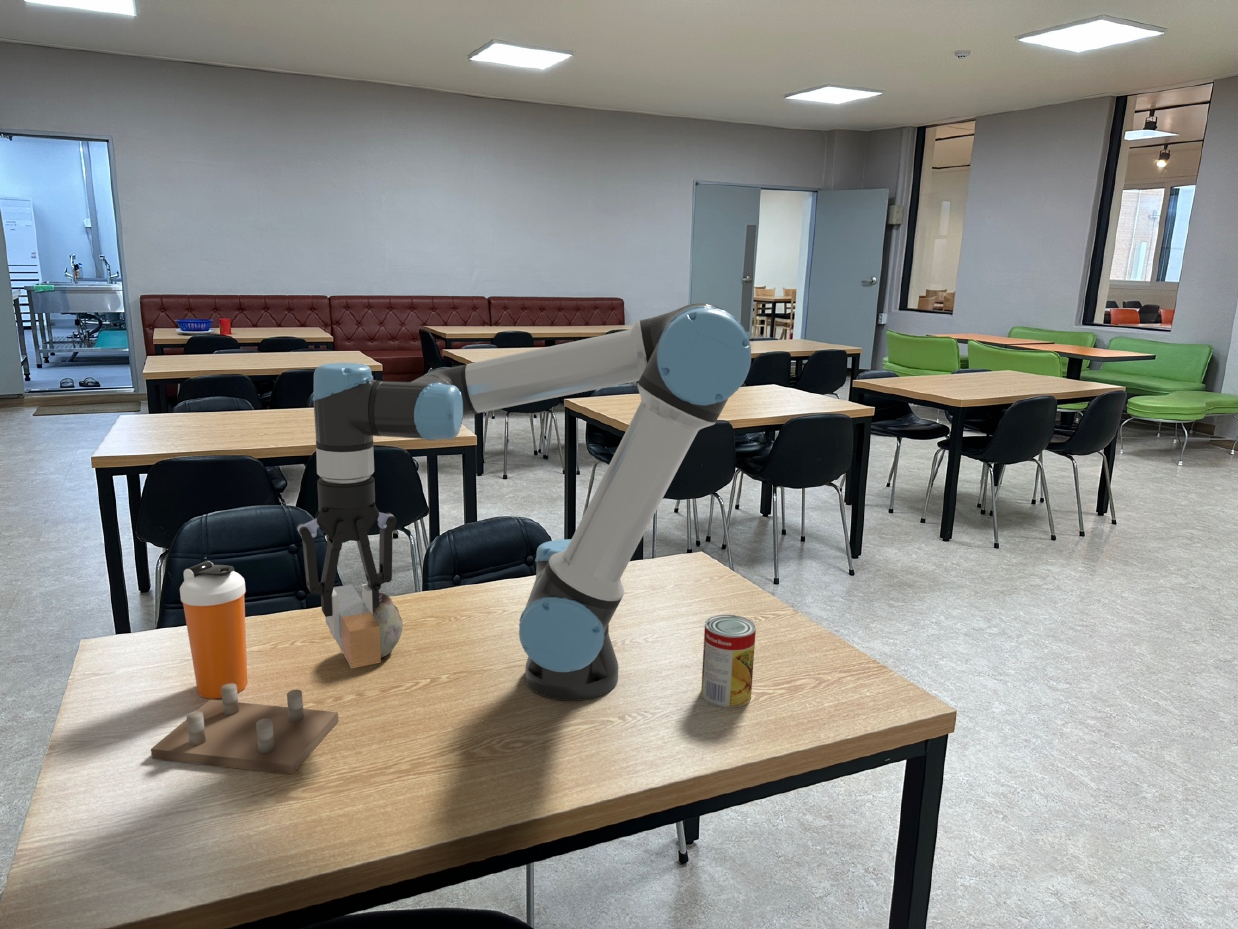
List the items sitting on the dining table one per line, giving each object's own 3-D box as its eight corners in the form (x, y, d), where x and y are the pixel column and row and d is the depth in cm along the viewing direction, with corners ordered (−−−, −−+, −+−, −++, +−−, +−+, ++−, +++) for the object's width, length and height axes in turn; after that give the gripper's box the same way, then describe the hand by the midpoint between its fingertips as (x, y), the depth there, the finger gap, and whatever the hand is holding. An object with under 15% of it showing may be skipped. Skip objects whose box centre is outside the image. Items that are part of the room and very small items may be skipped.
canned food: (757, 690, 133) (762, 621, 130) (740, 713, 126) (745, 640, 123) (712, 678, 136) (716, 610, 133) (693, 699, 129) (696, 628, 127)
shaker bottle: (229, 705, 124) (217, 581, 119) (177, 698, 126) (163, 575, 121) (265, 677, 133) (255, 560, 128) (216, 670, 134) (204, 554, 130)
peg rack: (338, 721, 121) (336, 687, 119) (292, 774, 108) (289, 737, 107) (211, 708, 123) (207, 675, 122) (151, 759, 111) (147, 722, 109)
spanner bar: (325, 622, 126) (324, 588, 125) (352, 617, 128) (351, 584, 127) (351, 668, 113) (350, 631, 112) (380, 662, 115) (380, 626, 114)
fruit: (376, 672, 135) (373, 604, 132) (330, 661, 139) (326, 594, 136) (414, 646, 144) (411, 582, 142) (369, 636, 148) (366, 573, 145)
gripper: (399, 464, 122) (402, 611, 127) (275, 475, 113) (284, 633, 119) (415, 476, 116) (417, 631, 121) (285, 489, 107) (294, 654, 113)
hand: (351, 631), depth 120 cm, fingers closed on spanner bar, 4 cm apart
